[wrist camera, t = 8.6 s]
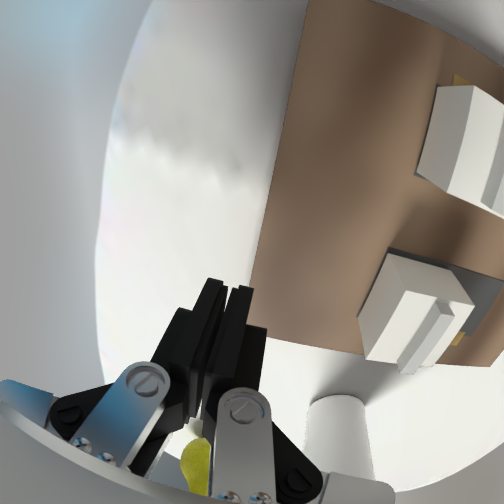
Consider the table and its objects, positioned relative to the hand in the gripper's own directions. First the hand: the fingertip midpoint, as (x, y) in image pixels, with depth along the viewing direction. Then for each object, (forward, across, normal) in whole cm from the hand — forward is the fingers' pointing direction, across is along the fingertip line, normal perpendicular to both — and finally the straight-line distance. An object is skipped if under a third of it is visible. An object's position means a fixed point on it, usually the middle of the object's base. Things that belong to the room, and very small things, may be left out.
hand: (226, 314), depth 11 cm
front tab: (+4, -8, -8) cm, 12 cm away
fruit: (+7, -1, +28) cm, 29 cm away
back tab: (+4, -9, 0) cm, 9 cm away
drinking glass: (+7, -11, +15) cm, 19 cm away
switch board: (+6, -11, -4) cm, 13 cm away
